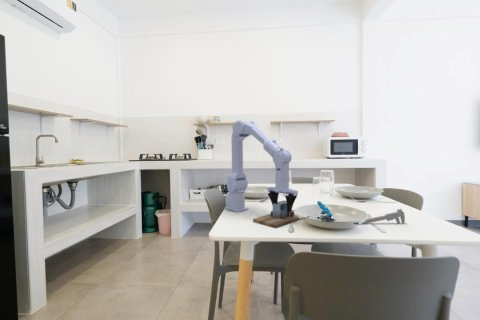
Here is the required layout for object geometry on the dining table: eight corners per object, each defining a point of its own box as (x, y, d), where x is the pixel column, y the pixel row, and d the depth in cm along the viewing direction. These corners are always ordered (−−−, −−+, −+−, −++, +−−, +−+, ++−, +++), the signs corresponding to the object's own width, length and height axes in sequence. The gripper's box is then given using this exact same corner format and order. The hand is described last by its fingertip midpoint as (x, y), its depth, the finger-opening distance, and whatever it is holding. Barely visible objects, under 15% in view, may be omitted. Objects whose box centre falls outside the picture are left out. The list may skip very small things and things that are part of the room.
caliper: (402, 223, 107) (403, 208, 106) (404, 224, 106) (405, 209, 105) (353, 224, 106) (353, 209, 106) (354, 225, 105) (354, 209, 105)
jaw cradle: (253, 221, 110) (253, 214, 110) (287, 211, 126) (287, 204, 126) (275, 228, 101) (275, 220, 101) (309, 216, 118) (309, 209, 118)
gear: (335, 219, 107) (317, 200, 110) (324, 228, 108) (307, 209, 112) (337, 216, 117) (321, 199, 120) (327, 224, 118) (312, 207, 122)
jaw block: (272, 217, 112) (272, 203, 112) (283, 213, 118) (283, 200, 118) (280, 218, 109) (280, 204, 109) (291, 215, 115) (291, 201, 115)
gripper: (263, 178, 115) (263, 208, 116) (290, 181, 105) (290, 214, 106) (273, 176, 120) (273, 206, 121) (300, 179, 110) (300, 211, 110)
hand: (282, 209), depth 114 cm, fingers open, 7 cm apart
